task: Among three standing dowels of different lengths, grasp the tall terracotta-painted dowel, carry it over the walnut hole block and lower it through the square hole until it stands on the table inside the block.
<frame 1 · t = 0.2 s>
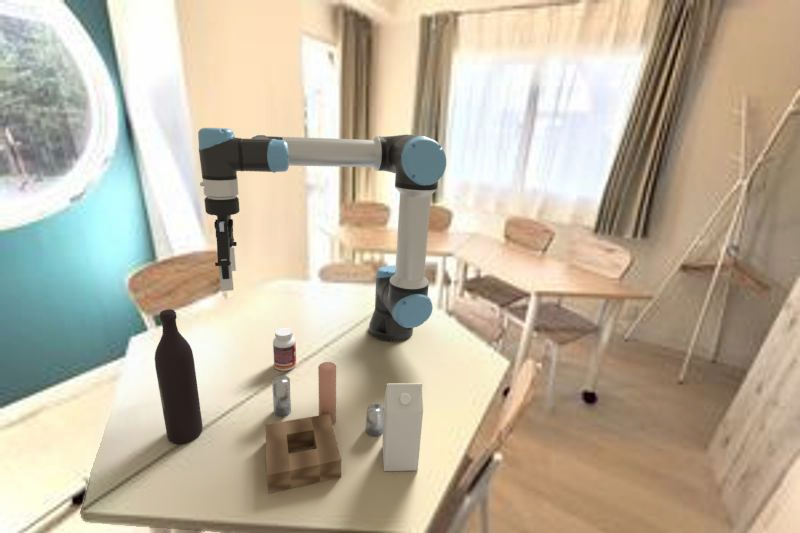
hand: (229, 279, 104), 28 cm above the table, fingers open, 13 cm apart
long pin: (327, 420, 98), on the table
milk carton: (399, 458, 88), on the table
short pin: (374, 430, 96), on the table
wine bottle: (185, 434, 92), on the table
medium pin: (282, 411, 100), on the table
pill bottle: (285, 366, 118), on the table
hole block: (302, 458, 87), on the table
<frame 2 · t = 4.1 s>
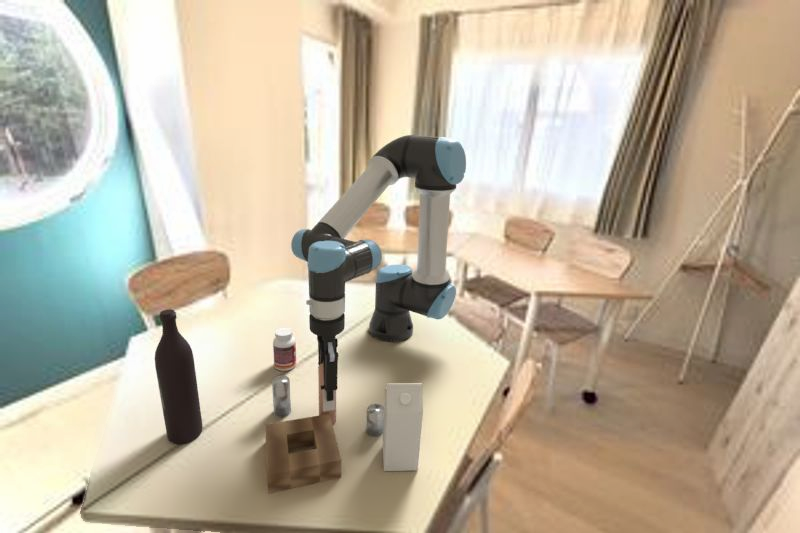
hand: (327, 403, 96), 5 cm above the table, fingers closed on long pin, 4 cm apart
long pin: (327, 420, 98), on the table, touching gripper
everything else where it was.
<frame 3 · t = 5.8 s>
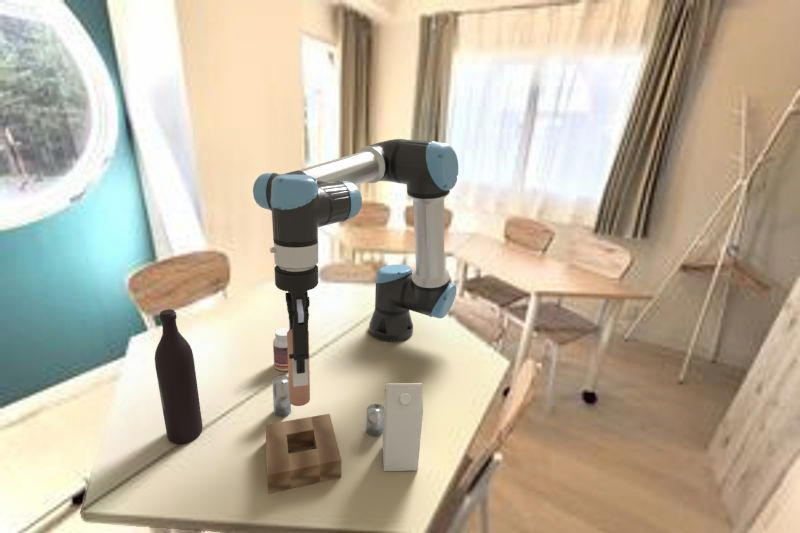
hand: (299, 377, 80), 20 cm above the table, fingers closed on long pin, 4 cm apart
long pin: (299, 399, 82), point 15 cm above the table, touching gripper
everything else where it was.
when the fingers open (7 cm above the table, at t = 7.7 s): long pin drops 1 cm, resting in hole block.
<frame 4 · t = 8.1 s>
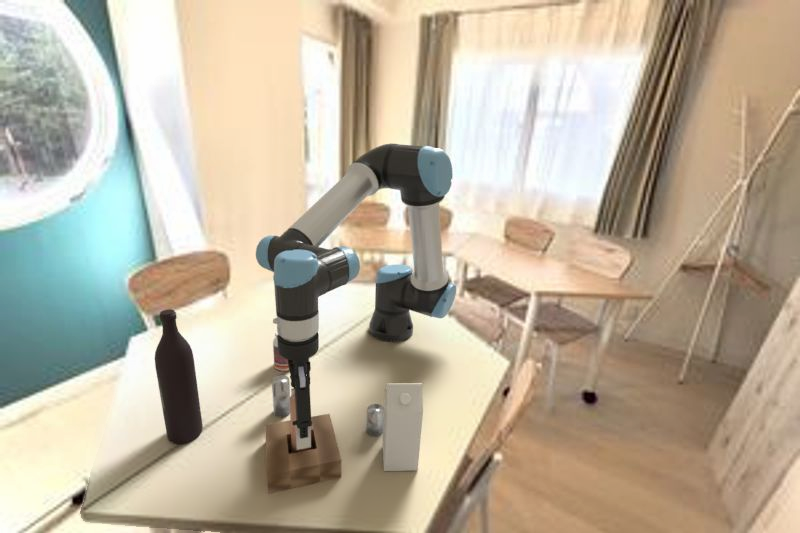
hand: (301, 429, 84), 8 cm above the table, fingers open, 9 cm apart
long pin: (301, 458, 87), resting in hole block
everything else where it was.
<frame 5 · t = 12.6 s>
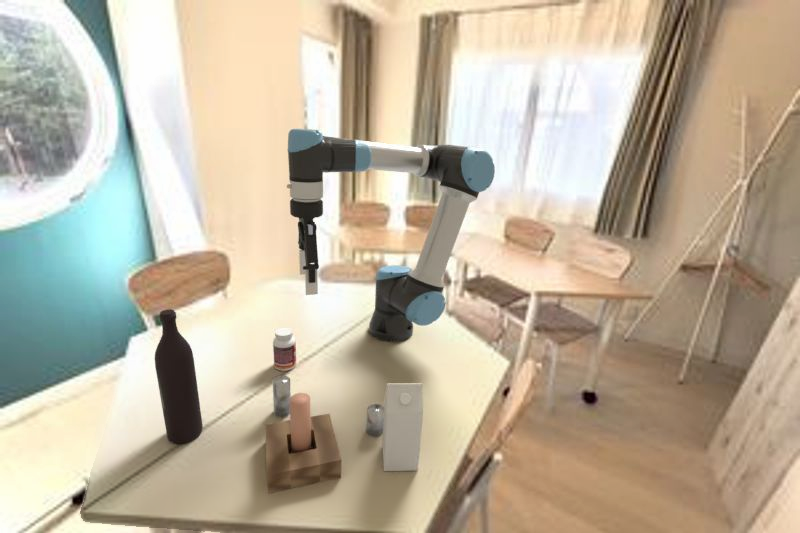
hand: (308, 283, 103), 29 cm above the table, fingers open, 13 cm apart
nothing on the table moved.
at the end: long pin 0.1 cm off-centre on the hole block, point 0.0 cm above the hole block's base; long pin tilted 0°; the gripper is holding nothing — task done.
